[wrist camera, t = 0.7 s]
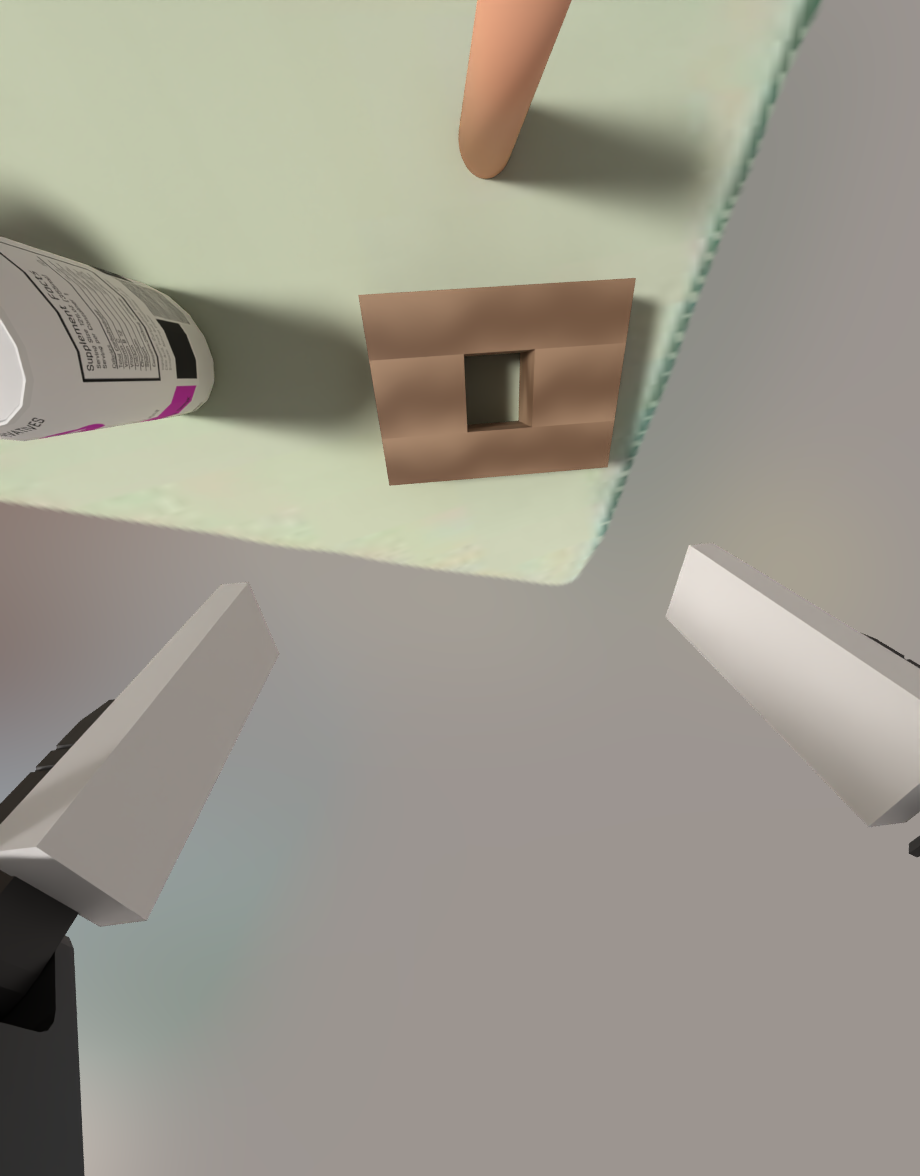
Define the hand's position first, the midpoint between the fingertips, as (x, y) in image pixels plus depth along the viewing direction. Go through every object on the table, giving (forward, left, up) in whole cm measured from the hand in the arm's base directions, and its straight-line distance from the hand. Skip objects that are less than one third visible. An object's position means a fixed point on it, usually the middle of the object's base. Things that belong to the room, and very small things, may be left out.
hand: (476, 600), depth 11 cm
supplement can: (-9, -21, -25) cm, 33 cm away
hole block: (-5, +4, -25) cm, 25 cm away
